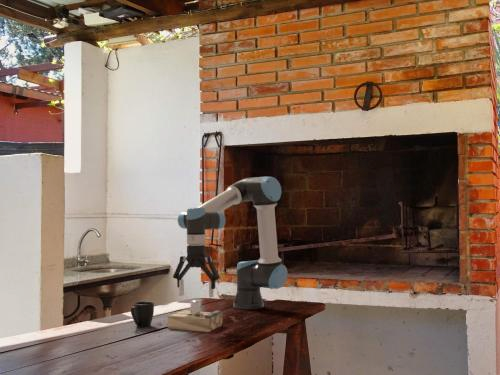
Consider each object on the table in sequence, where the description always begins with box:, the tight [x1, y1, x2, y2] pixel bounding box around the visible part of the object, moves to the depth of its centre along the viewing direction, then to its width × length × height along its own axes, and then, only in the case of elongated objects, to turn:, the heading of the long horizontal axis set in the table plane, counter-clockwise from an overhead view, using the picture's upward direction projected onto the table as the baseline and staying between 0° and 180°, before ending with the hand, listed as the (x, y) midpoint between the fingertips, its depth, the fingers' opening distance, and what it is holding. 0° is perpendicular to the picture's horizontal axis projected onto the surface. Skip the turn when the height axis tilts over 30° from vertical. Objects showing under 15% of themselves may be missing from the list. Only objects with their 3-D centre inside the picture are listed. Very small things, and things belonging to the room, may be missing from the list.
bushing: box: [189, 299, 202, 316], centre depth 229 cm, size 4×4×9 cm
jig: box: [167, 309, 223, 333], centre depth 229 cm, size 14×18×6 cm
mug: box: [130, 301, 155, 328], centre depth 229 cm, size 8×12×10 cm
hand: (196, 296), depth 230 cm, fingers open, 13 cm apart
